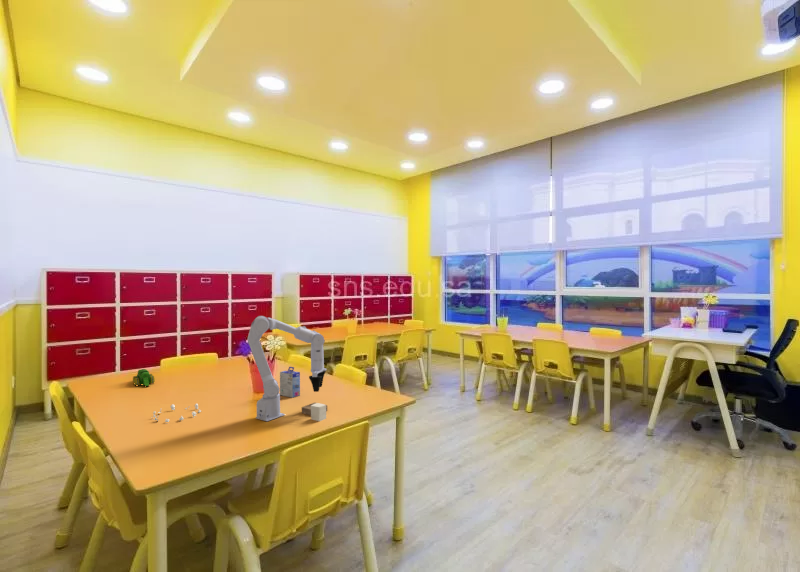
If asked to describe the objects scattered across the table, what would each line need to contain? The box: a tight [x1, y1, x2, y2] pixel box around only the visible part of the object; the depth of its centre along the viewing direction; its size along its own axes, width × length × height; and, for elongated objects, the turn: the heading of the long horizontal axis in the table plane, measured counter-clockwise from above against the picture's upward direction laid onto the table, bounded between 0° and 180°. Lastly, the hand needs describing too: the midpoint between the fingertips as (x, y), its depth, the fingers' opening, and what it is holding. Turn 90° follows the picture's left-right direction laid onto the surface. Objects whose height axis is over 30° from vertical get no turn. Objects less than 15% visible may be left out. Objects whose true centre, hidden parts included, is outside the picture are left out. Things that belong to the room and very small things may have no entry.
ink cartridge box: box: [279, 366, 301, 398], centre depth 204 cm, size 10×6×14 cm, turn 58°
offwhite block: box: [310, 402, 327, 422], centre depth 168 cm, size 4×5×6 cm
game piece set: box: [150, 403, 202, 423], centre depth 176 cm, size 19×20×4 cm
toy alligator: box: [132, 368, 155, 386], centre depth 236 cm, size 10×32×9 cm, turn 40°
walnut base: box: [301, 402, 328, 416], centre depth 177 cm, size 8×8×3 cm
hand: (317, 389), depth 180 cm, fingers open, 7 cm apart
